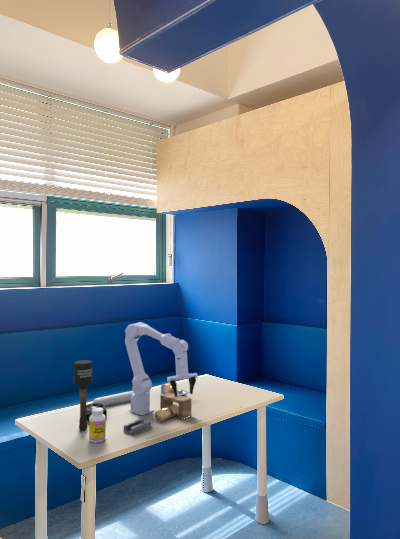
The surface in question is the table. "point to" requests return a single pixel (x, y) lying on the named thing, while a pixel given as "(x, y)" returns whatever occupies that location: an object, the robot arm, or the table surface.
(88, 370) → the stick grenade
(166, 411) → the brass cylinder
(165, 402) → the wooden bridge block
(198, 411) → the table surface
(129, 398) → the tube
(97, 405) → the cpu cooler
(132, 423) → the v block
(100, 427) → the supplement bottle
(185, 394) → the vise
